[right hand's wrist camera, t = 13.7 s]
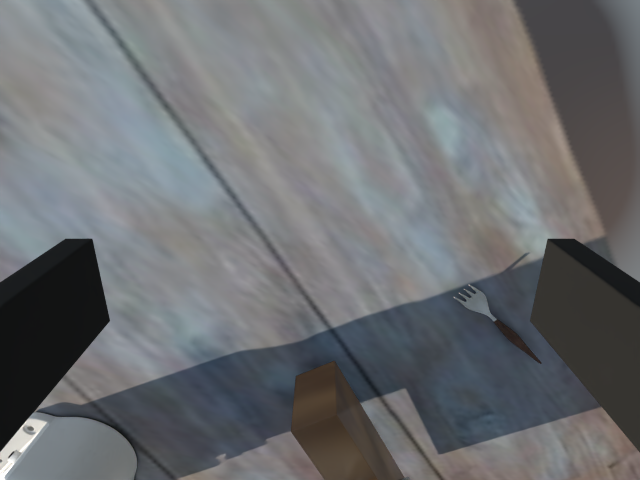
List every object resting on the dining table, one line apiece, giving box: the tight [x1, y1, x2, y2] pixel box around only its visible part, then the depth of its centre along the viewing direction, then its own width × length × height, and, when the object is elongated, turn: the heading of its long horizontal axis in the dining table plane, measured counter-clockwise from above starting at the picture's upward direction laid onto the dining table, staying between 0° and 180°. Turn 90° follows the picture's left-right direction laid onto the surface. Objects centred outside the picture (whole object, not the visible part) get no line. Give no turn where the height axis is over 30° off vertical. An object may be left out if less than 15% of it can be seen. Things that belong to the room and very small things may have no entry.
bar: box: [291, 361, 404, 480], centre depth 50 cm, size 22×5×8 cm, turn 27°
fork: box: [454, 285, 541, 364], centre depth 50 cm, size 3×16×2 cm, turn 47°
